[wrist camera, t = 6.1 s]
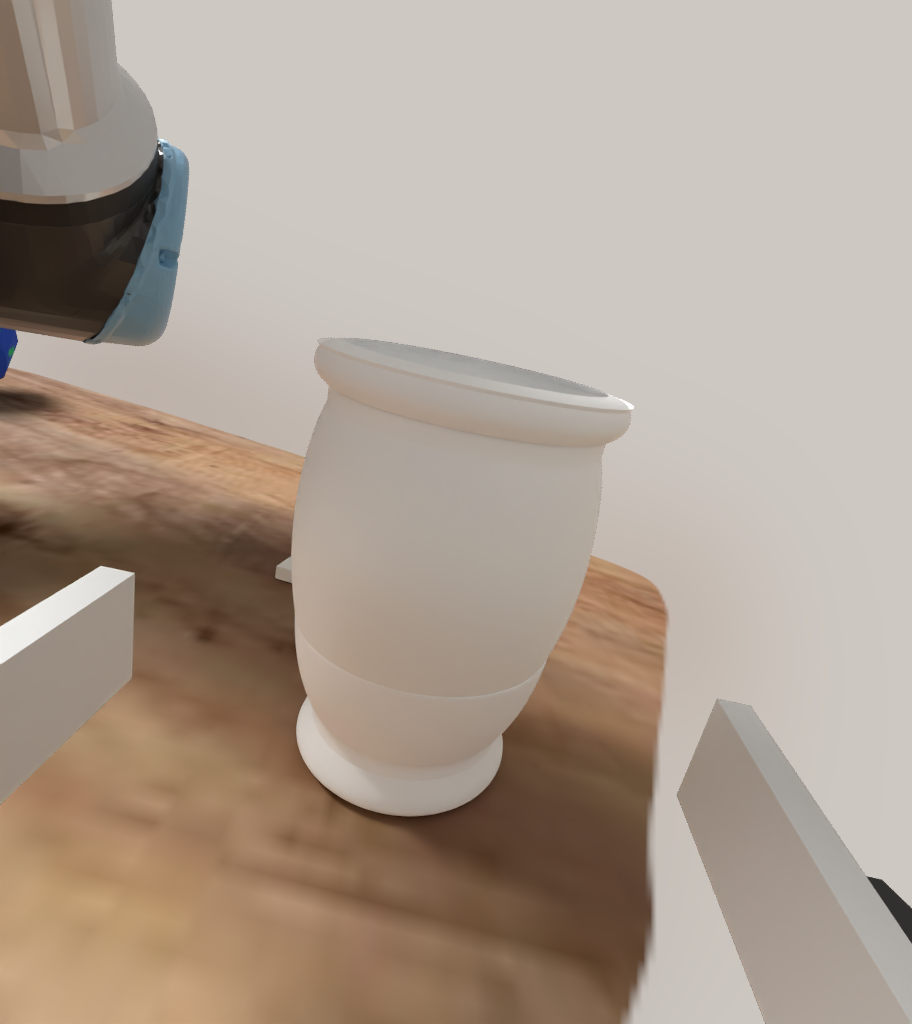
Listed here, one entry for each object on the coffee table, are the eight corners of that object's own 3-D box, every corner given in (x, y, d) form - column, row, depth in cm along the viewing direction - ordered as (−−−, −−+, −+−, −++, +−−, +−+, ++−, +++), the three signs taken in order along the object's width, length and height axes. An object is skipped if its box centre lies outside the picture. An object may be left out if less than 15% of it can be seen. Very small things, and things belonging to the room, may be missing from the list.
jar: (352, 636, 30) (401, 338, 25) (545, 709, 27) (641, 394, 22) (203, 770, 20) (238, 323, 15) (483, 906, 17) (631, 418, 13)
